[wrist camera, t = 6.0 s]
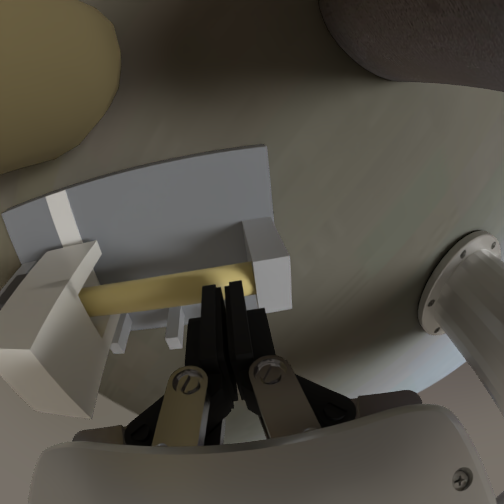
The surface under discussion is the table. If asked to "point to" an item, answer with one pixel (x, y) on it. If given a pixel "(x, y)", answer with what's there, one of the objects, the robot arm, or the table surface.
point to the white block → (56, 335)
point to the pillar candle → (423, 39)
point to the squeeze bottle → (52, 77)
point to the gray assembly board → (163, 238)
